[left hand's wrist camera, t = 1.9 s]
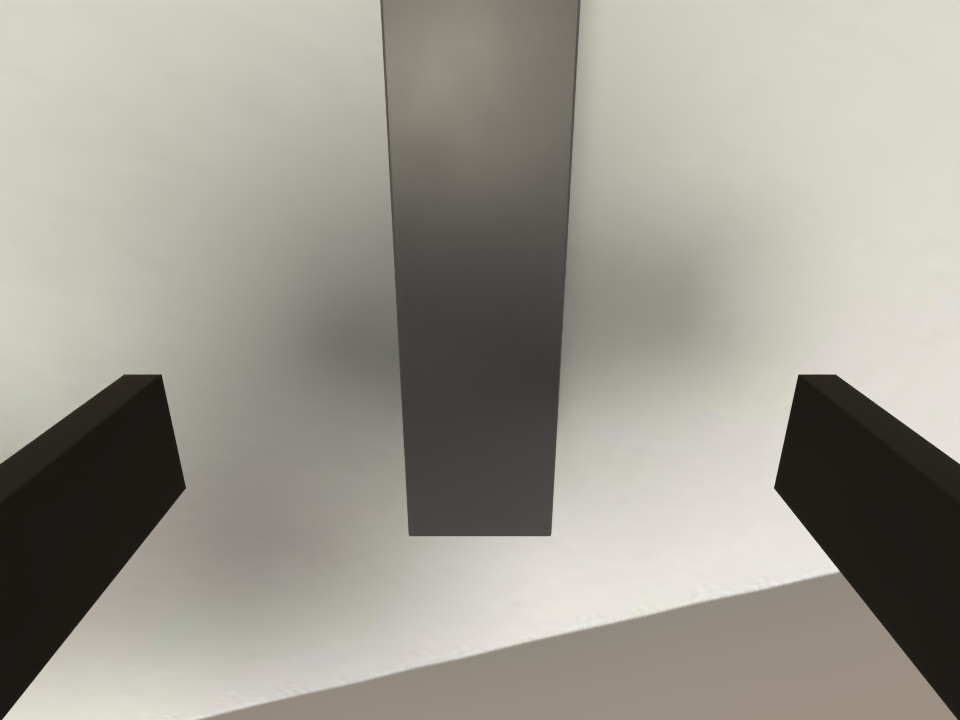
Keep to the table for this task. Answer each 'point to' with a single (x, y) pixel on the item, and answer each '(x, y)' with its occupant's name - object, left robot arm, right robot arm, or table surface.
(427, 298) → the post
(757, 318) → the table surface
